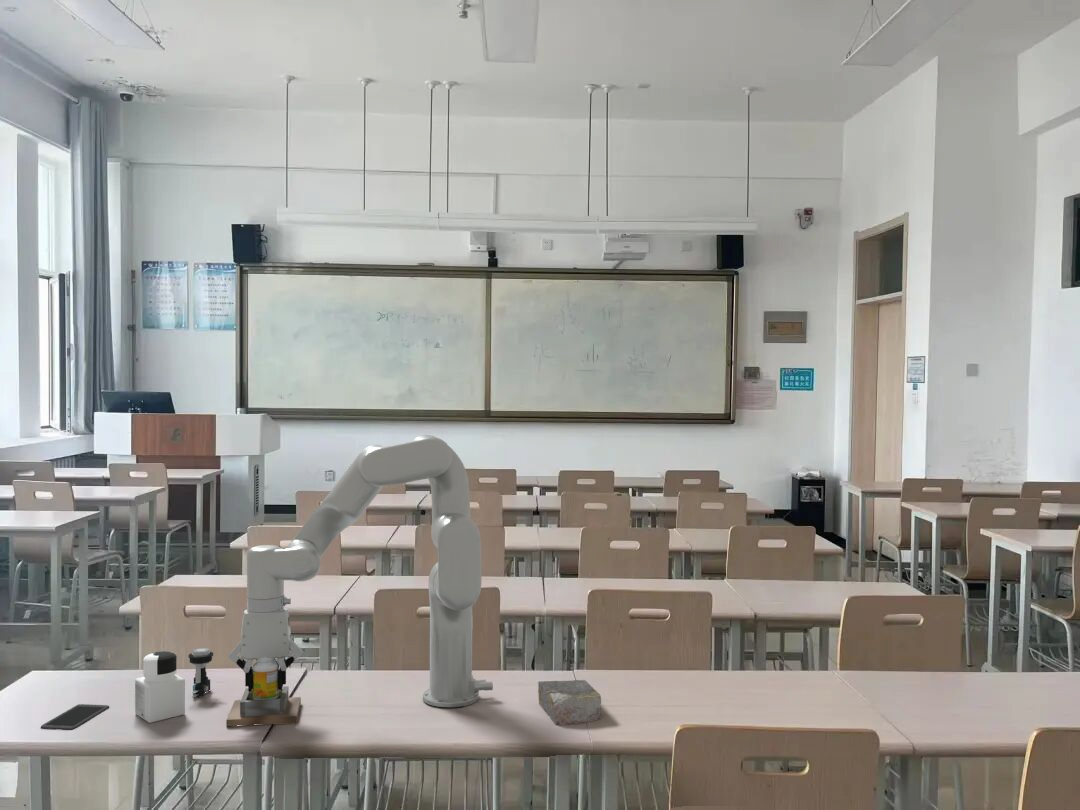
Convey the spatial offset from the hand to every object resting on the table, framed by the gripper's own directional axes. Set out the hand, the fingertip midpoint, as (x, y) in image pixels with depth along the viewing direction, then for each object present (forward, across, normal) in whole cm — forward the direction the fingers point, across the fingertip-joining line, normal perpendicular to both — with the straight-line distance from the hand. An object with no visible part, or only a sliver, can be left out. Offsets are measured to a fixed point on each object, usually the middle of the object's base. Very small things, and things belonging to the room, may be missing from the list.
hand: (265, 687), depth 198 cm
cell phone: (+6, +39, -5) cm, 40 cm away
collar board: (+6, 0, 0) cm, 6 cm away
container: (+6, +22, -4) cm, 23 cm away
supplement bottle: (+2, 0, 0) cm, 2 cm away
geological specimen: (+7, -65, +8) cm, 66 cm away
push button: (+6, +16, -16) cm, 24 cm away
